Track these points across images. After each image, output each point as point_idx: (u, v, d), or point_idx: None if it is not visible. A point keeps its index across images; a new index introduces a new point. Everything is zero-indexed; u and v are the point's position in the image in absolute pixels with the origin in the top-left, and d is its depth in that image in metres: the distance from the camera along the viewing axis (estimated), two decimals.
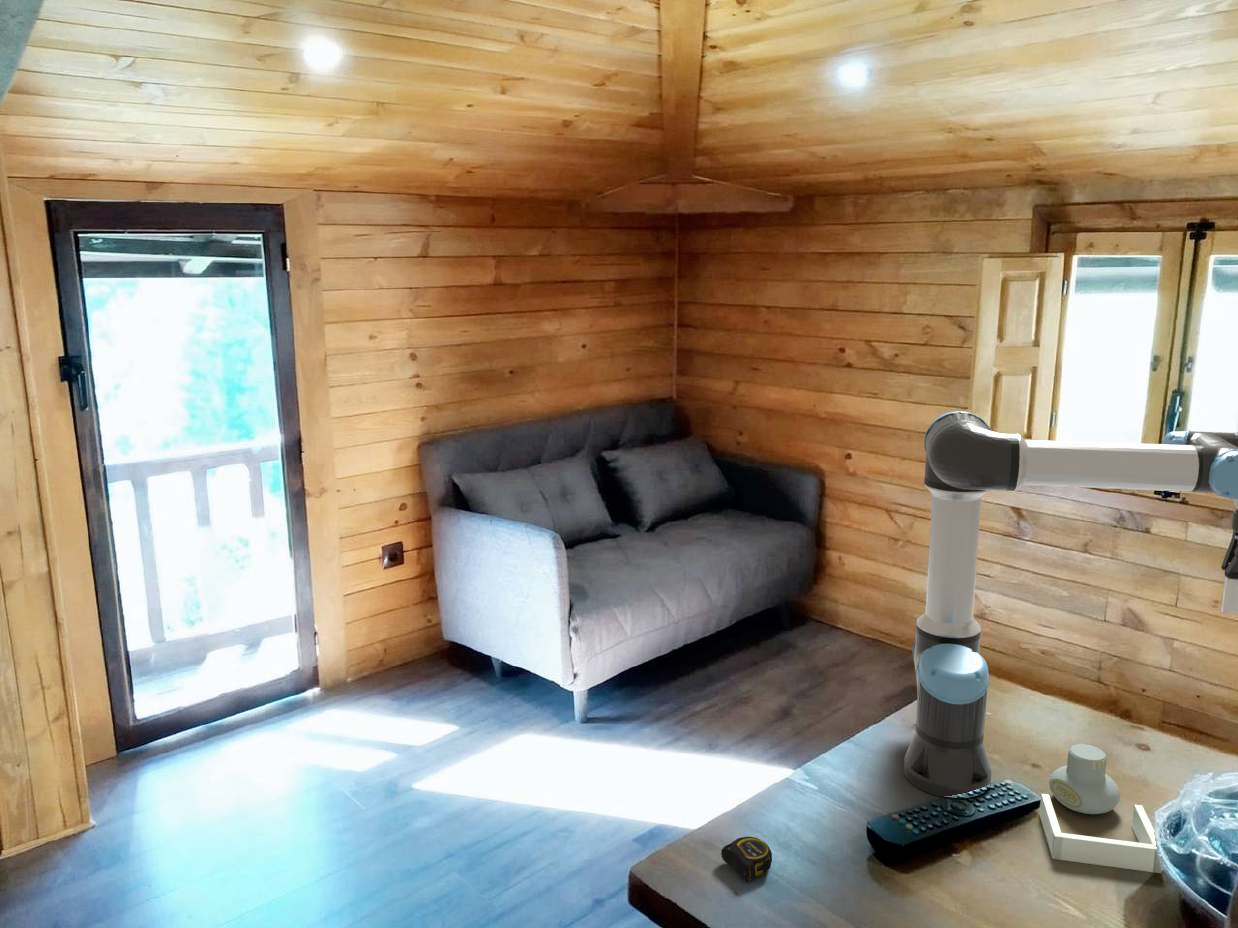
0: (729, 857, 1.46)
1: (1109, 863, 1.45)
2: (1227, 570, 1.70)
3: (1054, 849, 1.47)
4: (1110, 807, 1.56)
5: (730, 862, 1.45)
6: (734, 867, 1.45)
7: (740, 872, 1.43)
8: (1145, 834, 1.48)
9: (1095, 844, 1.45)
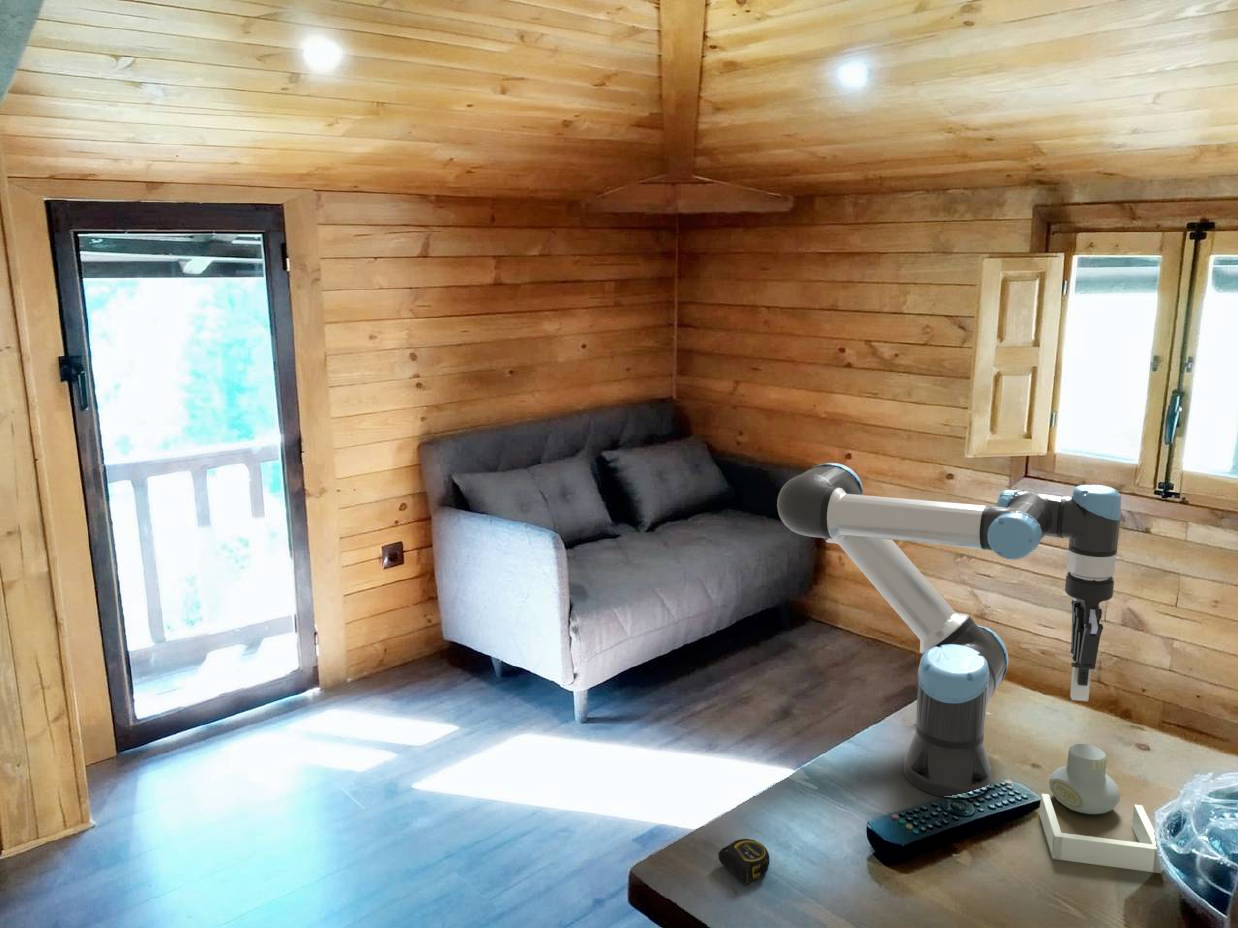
0: (726, 859, 1.45)
1: (1109, 863, 1.45)
2: (1073, 653, 1.68)
3: (1054, 849, 1.47)
4: (1110, 807, 1.56)
5: (727, 864, 1.45)
6: (731, 870, 1.44)
7: (737, 875, 1.43)
8: (1145, 834, 1.48)
9: (1095, 844, 1.45)
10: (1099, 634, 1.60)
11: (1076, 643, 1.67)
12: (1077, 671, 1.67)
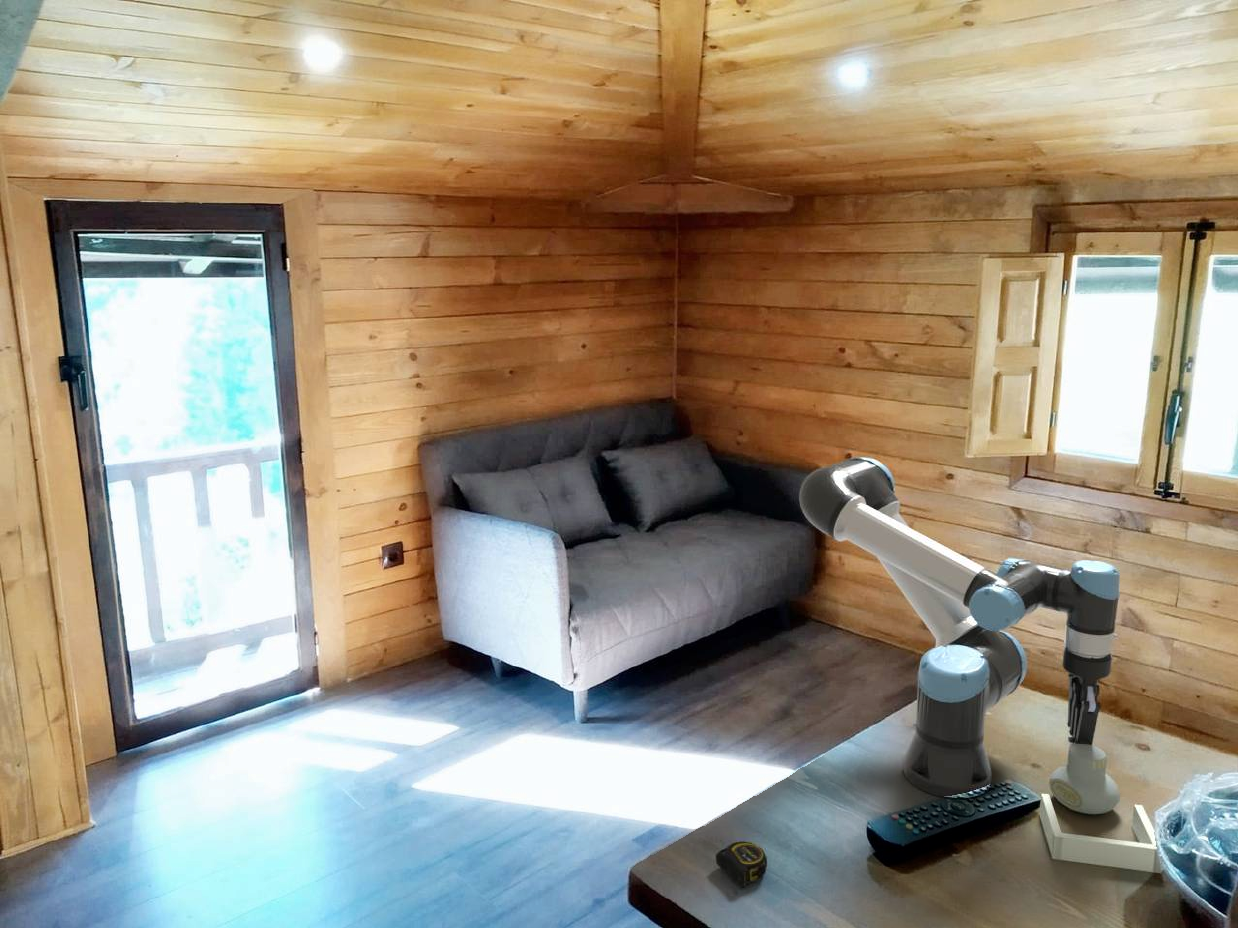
0: (723, 862, 1.44)
1: (1109, 863, 1.45)
2: (1070, 726, 1.67)
3: (1054, 849, 1.47)
4: (1110, 807, 1.56)
5: (725, 867, 1.44)
6: (729, 872, 1.43)
7: (735, 877, 1.42)
8: (1145, 834, 1.48)
9: (1095, 844, 1.45)
10: (1097, 712, 1.59)
11: (1073, 717, 1.66)
12: None
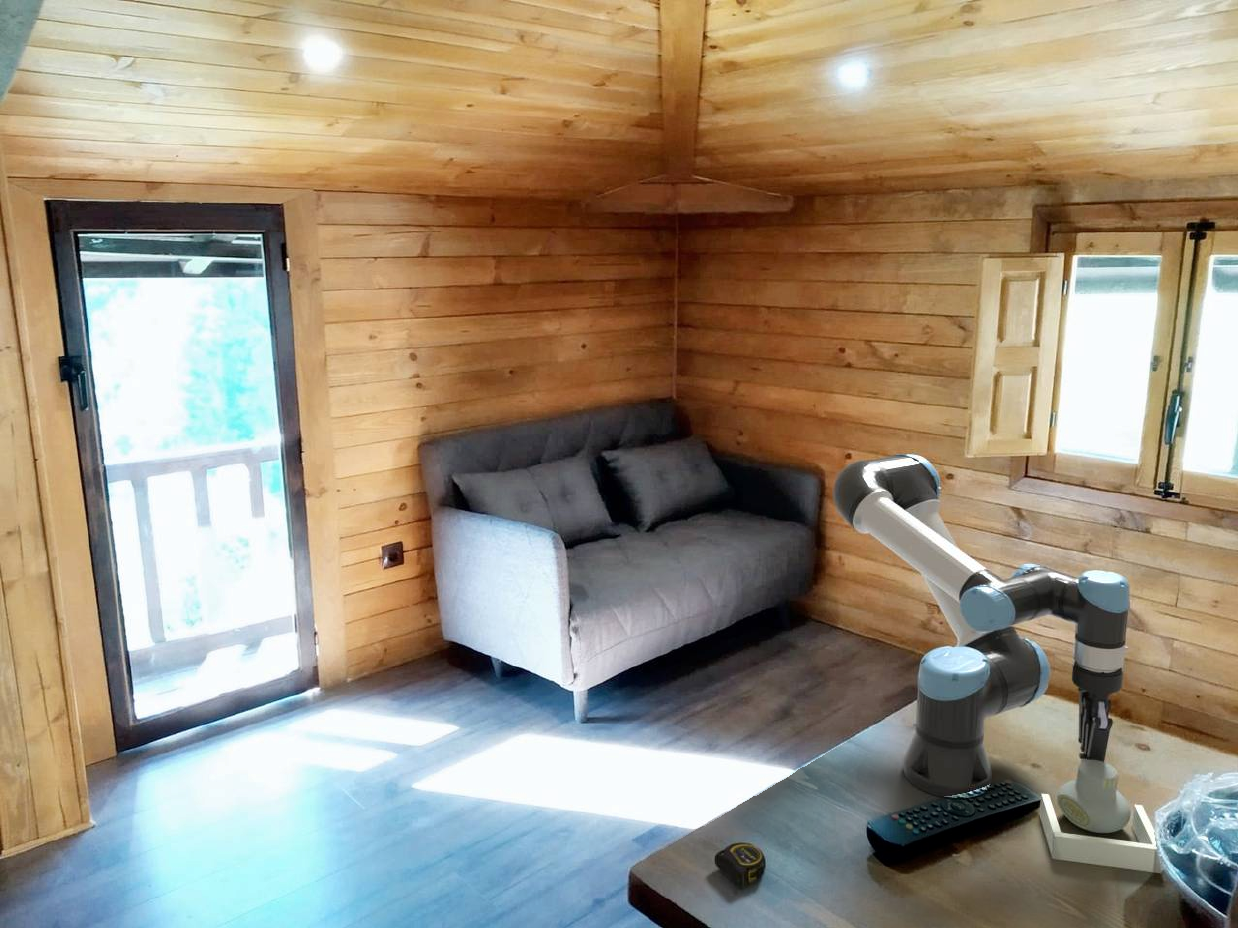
0: (722, 863, 1.44)
1: (1109, 863, 1.45)
2: (1082, 743, 1.61)
3: (1054, 849, 1.47)
4: (1119, 827, 1.51)
5: (723, 868, 1.44)
6: (727, 873, 1.43)
7: (733, 879, 1.42)
8: (1145, 834, 1.48)
9: (1095, 844, 1.45)
10: (1109, 729, 1.53)
11: (1084, 733, 1.60)
12: None
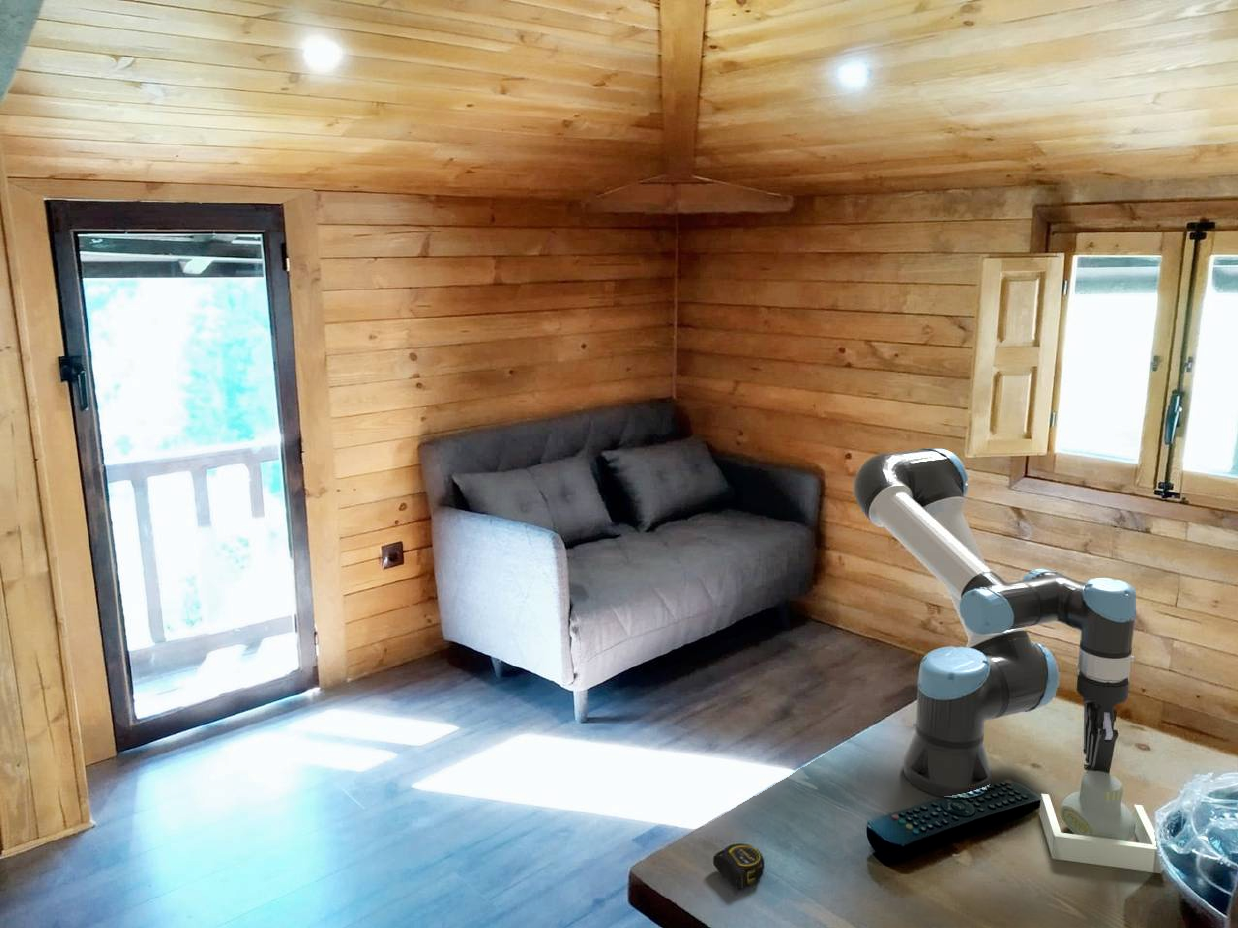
0: (721, 864, 1.44)
1: (1109, 863, 1.45)
2: (1087, 754, 1.58)
3: (1054, 849, 1.47)
4: None
5: (722, 869, 1.44)
6: (726, 874, 1.43)
7: (732, 880, 1.42)
8: (1145, 834, 1.48)
9: (1095, 844, 1.45)
10: (1114, 740, 1.49)
11: (1089, 744, 1.56)
12: None
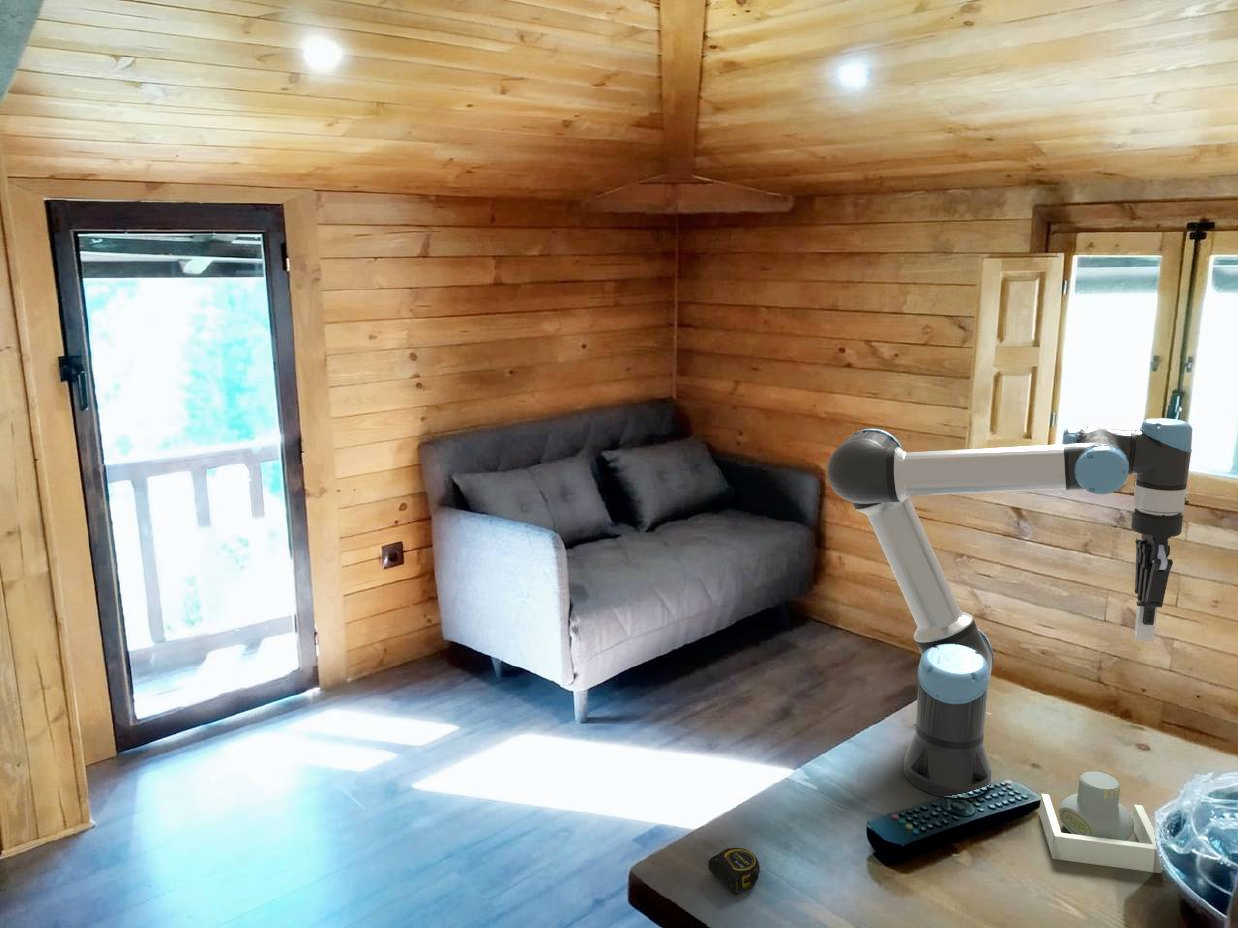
0: (716, 868, 1.43)
1: (1109, 863, 1.45)
2: (1138, 592, 1.65)
3: (1054, 849, 1.47)
4: (1122, 840, 1.48)
5: (717, 874, 1.43)
6: (721, 879, 1.42)
7: (727, 884, 1.41)
8: (1145, 834, 1.48)
9: (1095, 844, 1.45)
10: (1168, 570, 1.56)
11: (1141, 582, 1.63)
12: (1142, 610, 1.63)
